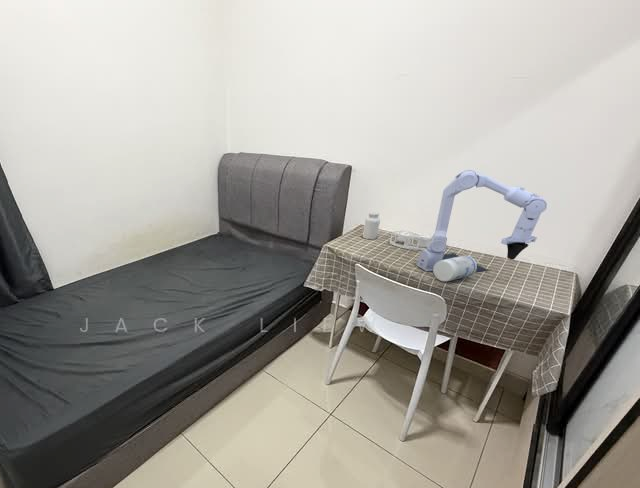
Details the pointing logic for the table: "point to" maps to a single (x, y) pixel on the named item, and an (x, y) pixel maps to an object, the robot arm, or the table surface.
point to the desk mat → (448, 256)
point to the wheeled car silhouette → (405, 237)
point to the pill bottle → (371, 226)
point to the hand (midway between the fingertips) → (510, 258)
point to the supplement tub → (455, 268)
